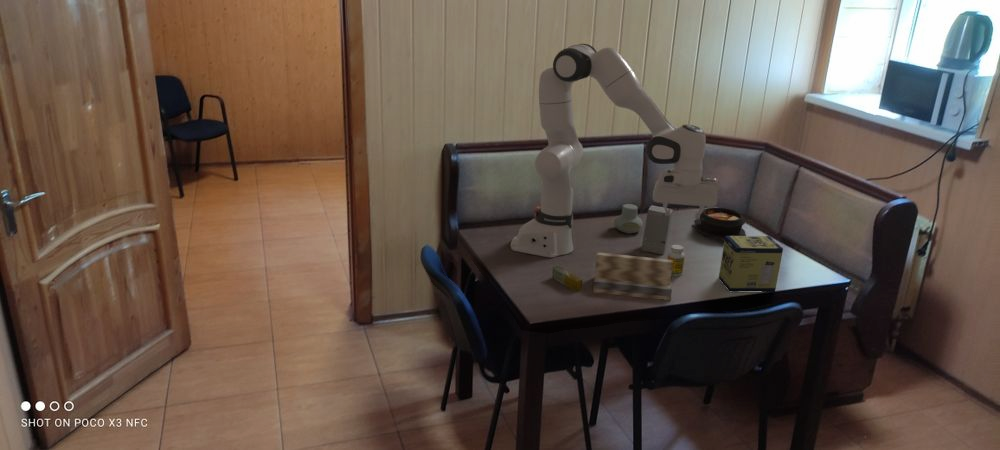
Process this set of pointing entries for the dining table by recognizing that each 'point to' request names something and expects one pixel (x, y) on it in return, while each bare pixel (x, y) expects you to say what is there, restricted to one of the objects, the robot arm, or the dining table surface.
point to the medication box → (567, 278)
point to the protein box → (750, 263)
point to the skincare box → (656, 230)
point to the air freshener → (628, 219)
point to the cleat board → (633, 276)
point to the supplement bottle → (677, 259)
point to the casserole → (720, 223)
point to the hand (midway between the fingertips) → (682, 216)
